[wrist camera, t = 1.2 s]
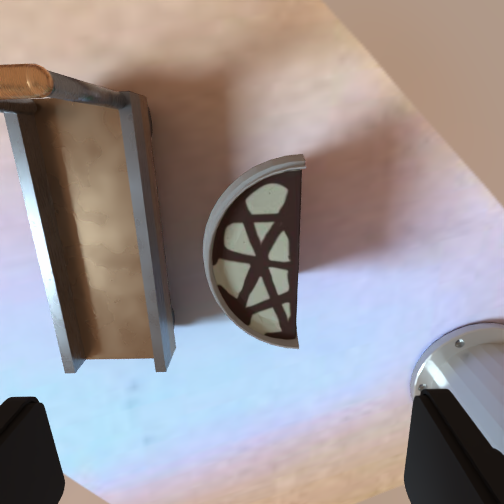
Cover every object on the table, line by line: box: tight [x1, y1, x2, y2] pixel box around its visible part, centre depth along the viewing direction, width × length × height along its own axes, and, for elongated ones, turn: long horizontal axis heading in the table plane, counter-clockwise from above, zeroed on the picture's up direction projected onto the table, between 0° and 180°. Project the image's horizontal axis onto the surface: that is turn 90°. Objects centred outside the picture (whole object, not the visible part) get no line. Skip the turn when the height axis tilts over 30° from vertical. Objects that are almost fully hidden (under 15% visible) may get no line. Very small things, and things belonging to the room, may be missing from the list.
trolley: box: [0, 64, 176, 373], centre depth 23 cm, size 8×20×15 cm, turn 2°
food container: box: [203, 154, 306, 349], centre depth 25 cm, size 12×6×10 cm, turn 0°
